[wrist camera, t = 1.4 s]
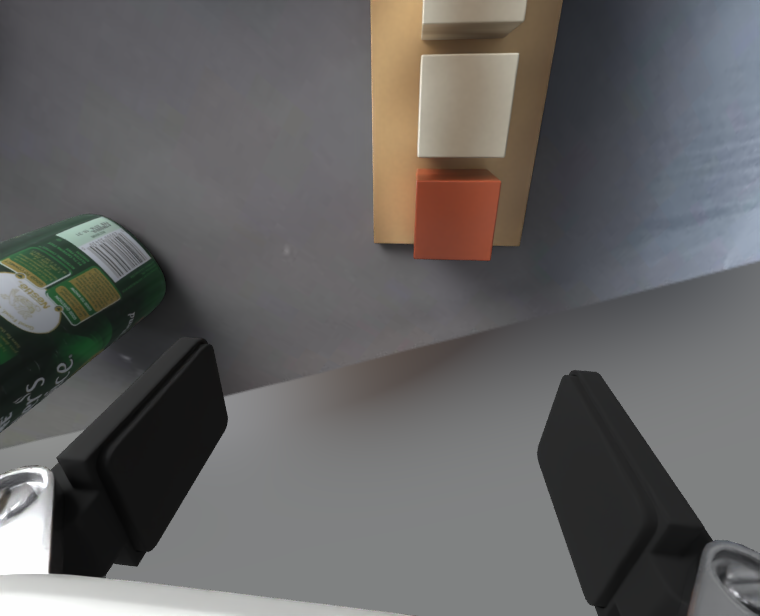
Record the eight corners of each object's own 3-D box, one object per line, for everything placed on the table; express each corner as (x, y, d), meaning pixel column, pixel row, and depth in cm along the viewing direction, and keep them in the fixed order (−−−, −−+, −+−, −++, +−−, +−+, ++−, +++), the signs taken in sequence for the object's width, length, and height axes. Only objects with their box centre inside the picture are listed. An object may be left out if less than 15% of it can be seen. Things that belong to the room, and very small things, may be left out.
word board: (606, -271, 14) (683, -425, 10) (517, 243, 23) (538, 271, 19) (368, -250, 15) (349, -386, 11) (375, 240, 24) (366, 267, 20)
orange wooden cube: (487, 168, 21) (502, 180, 17) (479, 237, 23) (490, 261, 19) (416, 168, 21) (416, 180, 18) (413, 236, 23) (413, 259, 20)
